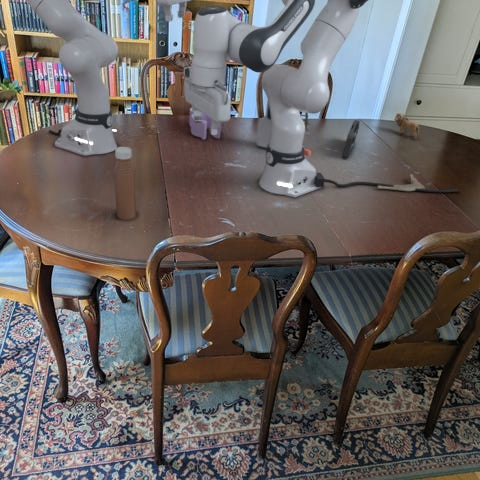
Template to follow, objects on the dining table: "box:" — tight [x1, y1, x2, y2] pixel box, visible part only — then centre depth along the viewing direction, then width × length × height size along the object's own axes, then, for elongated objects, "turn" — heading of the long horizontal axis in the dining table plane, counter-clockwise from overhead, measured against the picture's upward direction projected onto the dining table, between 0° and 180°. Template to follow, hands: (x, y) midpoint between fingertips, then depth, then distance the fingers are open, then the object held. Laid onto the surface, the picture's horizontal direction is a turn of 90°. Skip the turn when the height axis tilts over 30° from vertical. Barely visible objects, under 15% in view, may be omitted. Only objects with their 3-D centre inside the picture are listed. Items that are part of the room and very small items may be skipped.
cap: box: [114, 146, 133, 160], centre depth 126 cm, size 4×4×2 cm
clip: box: [188, 107, 222, 140], centre depth 199 cm, size 20×12×7 cm, turn 23°
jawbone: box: [376, 173, 426, 193], centre depth 169 cm, size 9×20×2 cm, turn 126°
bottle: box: [113, 158, 137, 221], centre depth 131 cm, size 6×6×20 cm
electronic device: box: [255, 99, 271, 150], centre depth 183 cm, size 12×8×30 cm, turn 71°
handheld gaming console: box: [342, 119, 361, 159], centre depth 194 cm, size 23×3×10 cm, turn 161°
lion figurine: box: [394, 112, 422, 140], centre depth 218 cm, size 15×5×9 cm, turn 50°
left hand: (175, 19), depth 144 cm, fingers open, 8 cm apart
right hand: (205, 128), depth 128 cm, fingers open, 8 cm apart
